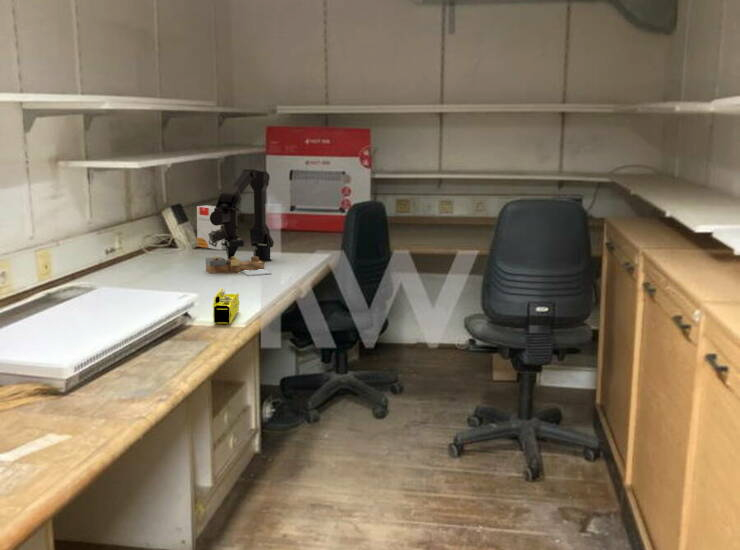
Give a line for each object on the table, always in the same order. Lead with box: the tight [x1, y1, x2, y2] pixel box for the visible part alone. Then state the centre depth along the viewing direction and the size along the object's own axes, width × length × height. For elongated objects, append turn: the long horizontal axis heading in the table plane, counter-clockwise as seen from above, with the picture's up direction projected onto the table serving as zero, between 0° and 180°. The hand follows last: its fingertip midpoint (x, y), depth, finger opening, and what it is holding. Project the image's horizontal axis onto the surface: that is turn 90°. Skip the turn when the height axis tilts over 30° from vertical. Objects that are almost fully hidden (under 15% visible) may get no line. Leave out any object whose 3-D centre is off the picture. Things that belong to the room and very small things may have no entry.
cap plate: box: [205, 256, 227, 266], centre depth 283 cm, size 7×6×3 cm
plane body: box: [205, 256, 265, 274], centre depth 287 cm, size 23×12×5 cm, turn 119°
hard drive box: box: [196, 204, 225, 251], centre depth 339 cm, size 16×8×20 cm, turn 62°
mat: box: [240, 269, 272, 277], centre depth 282 cm, size 10×8×1 cm
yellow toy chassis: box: [212, 287, 240, 325], centre depth 213 cm, size 16×6×8 cm, turn 1°
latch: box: [226, 255, 240, 266], centre depth 283 cm, size 4×5×3 cm
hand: (230, 260), depth 286 cm, fingers closed
